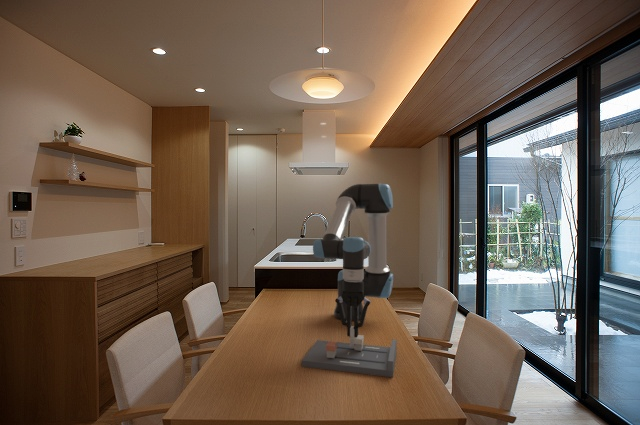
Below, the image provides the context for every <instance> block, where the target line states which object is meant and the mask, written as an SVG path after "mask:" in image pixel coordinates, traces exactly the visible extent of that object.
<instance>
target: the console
mask: <svg viewBox="0 0 640 425" xmlns="http://www.w3.org/2000/svg"><path fill="white" fill-rule="evenodd" d="M329 341H330V340H321V339H317V340H316V341H315V342H314V344H313V345H312V346H311V347H310V348H309V350H308V352H307V353H306V354H305V356H303V357H302V359H301V367H304V368H311V369H312V368H313V369H321V370H329V371H336V372H344V373H346V372H347V373H353V374H363V375H371V376H378V377H388V378H394V373H395V366H396V359H397V353H398V352H397V348H398V347H397V342H398V340H397V339H394V338H393V339H392V340H391V343H390V346H381V345H369V344H363V348H362V351H358V350H354V347H355V346H354V347H351V346H350V342H349V343H348V342H339V341H336V342H337V348H336V356H335V357H334V358H327V351H326V345H327V343H328V342H329Z"/></svg>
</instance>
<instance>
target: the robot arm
mask: <svg viewBox="0 0 640 425" xmlns="http://www.w3.org/2000/svg"><path fill="white" fill-rule="evenodd" d="M393 197H394V196H393V192H392V188H391V186H390V185H389V184H387V183H357V184H353V185H351V186H349V187H347V188H346V189H345V190H343V191H342V192H341V193H340V194H339V195H338V196H337V200H336V201H335V209H334V211H333V214H332V217H331V218H330V221H329V223H328V226H327V227H326V228H327V229H325V233H324V235H323V237H322V238H317V239H315V240H314V241H313V245H312V253H313V256H314V257H315V258H319V259H325V260H326V259H328V260H329V259H331V260H333V259H334V260H342V270H340V271H339V272H338V274H337V298H335V303H336V305H335V308H334V311H333V317H334V318H335V319H338V320H340V321H341V326H345V327H346V332H347V333H346V335H347V337H349V343H350V346H351V347H354V346H355V344H354V337H357V336H358V335H359V328H363V326H364V323H365V319H366V316H367V312H368V307H369V305H370V304H371V302H372V301H371V299H368V298H377V299H389V297H390V296H391V294H392V290H393V284H394V273H391V269H390V267H388V265H387V262H388V261H387V216H388V215H389V214H390V213H391V212H390V210H392V209H393V207H394V198H393ZM358 209H362V210H364V214H365V215H366V216H367V241H366V240H365V239H364V238H363V237H361V236H347V237H344V235H345V232H346V230H347V227H348V224H349V222H350V219H351V216H352V214H353V213H354V212H355V211H356V210H358ZM343 237H344V238H343ZM367 258H368V262H367V263H368V264H367V267H366V268H364V267H365V266H364V265H365V259H367ZM366 297H367V298H366ZM352 321H353V324H352Z"/></svg>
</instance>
